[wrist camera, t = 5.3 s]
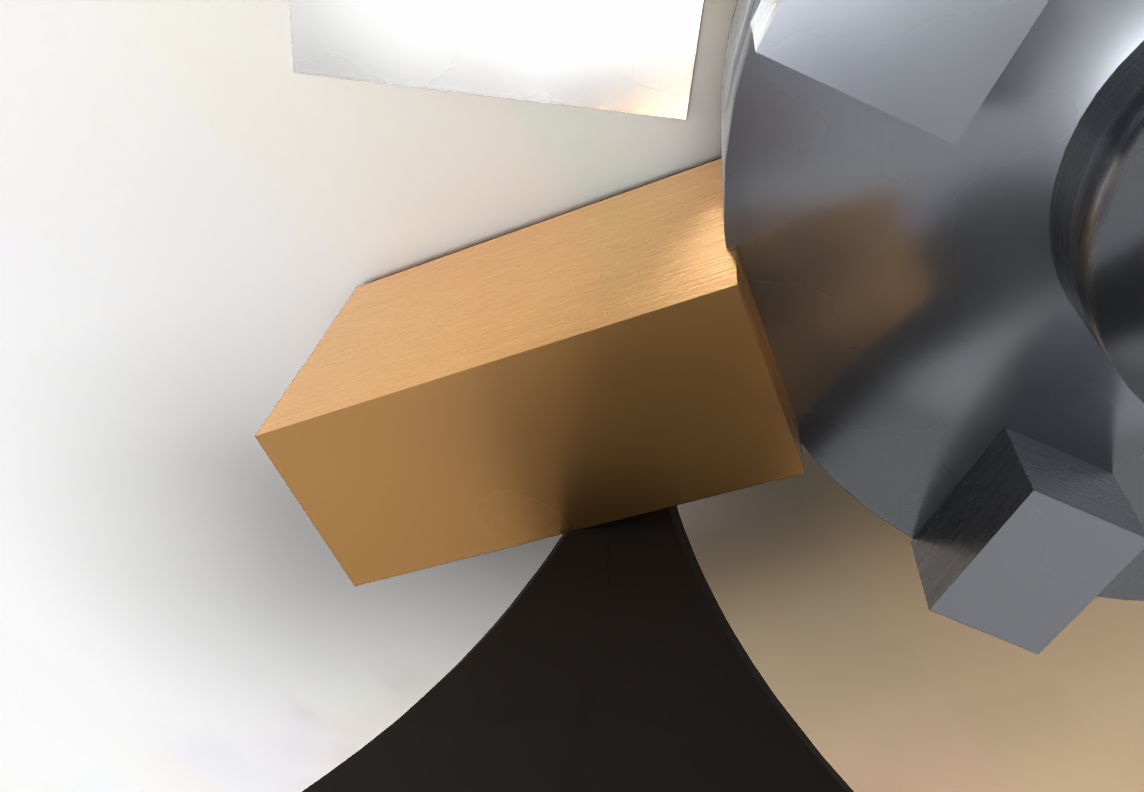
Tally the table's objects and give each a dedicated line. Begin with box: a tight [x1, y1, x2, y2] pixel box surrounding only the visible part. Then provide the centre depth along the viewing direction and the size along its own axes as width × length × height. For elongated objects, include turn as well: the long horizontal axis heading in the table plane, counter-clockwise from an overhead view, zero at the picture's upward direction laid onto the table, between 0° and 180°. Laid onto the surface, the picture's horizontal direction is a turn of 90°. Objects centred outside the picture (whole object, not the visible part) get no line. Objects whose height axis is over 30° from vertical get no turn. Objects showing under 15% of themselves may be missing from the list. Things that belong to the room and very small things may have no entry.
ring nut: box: [255, 0, 1144, 654], centre depth 9 cm, size 14×9×4 cm, turn 113°
